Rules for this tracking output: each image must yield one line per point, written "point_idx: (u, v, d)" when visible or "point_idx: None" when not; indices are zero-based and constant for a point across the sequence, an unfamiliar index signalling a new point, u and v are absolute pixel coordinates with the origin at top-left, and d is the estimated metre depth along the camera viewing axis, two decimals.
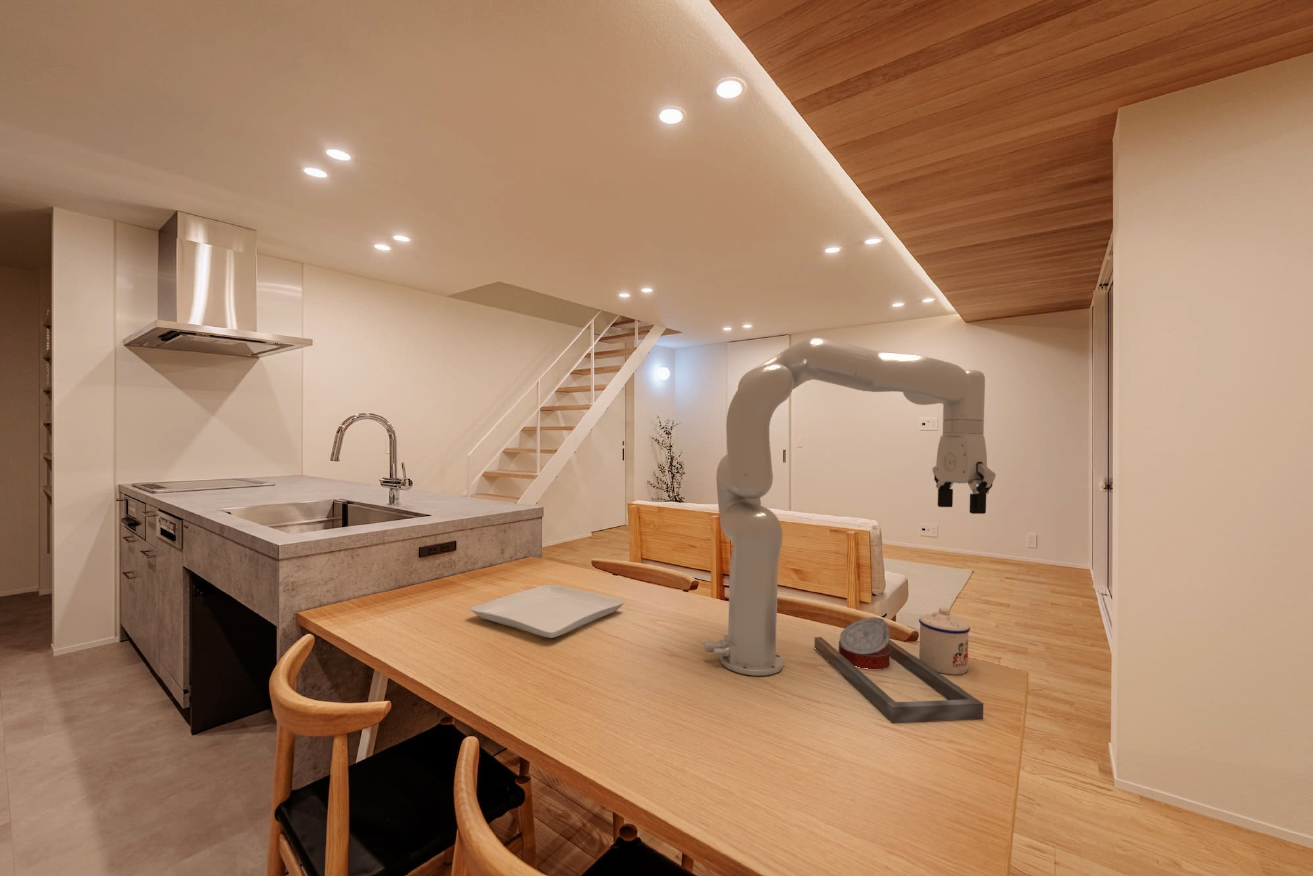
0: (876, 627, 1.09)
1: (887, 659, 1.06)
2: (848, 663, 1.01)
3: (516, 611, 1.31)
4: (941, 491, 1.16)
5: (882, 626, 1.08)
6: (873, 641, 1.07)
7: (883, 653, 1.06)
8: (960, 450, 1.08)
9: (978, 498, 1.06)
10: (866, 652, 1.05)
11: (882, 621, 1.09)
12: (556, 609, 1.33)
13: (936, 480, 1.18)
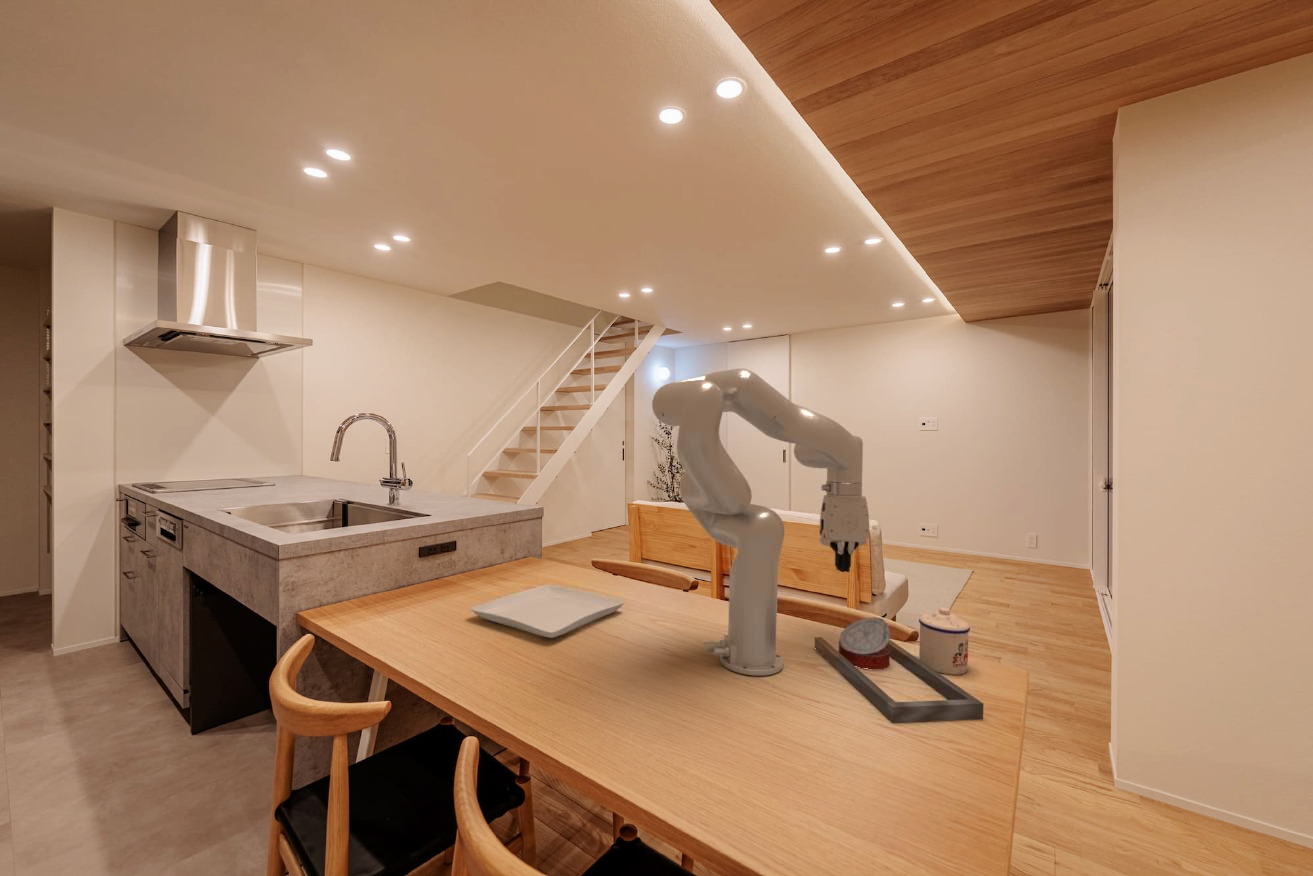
0: (876, 627, 1.09)
1: (887, 659, 1.06)
2: (848, 663, 1.01)
3: (516, 611, 1.31)
4: None
5: (882, 626, 1.08)
6: (873, 641, 1.07)
7: (883, 653, 1.06)
8: (862, 511, 1.17)
9: (850, 557, 1.19)
10: (866, 652, 1.05)
11: (882, 621, 1.09)
12: (556, 609, 1.33)
13: (834, 546, 1.18)
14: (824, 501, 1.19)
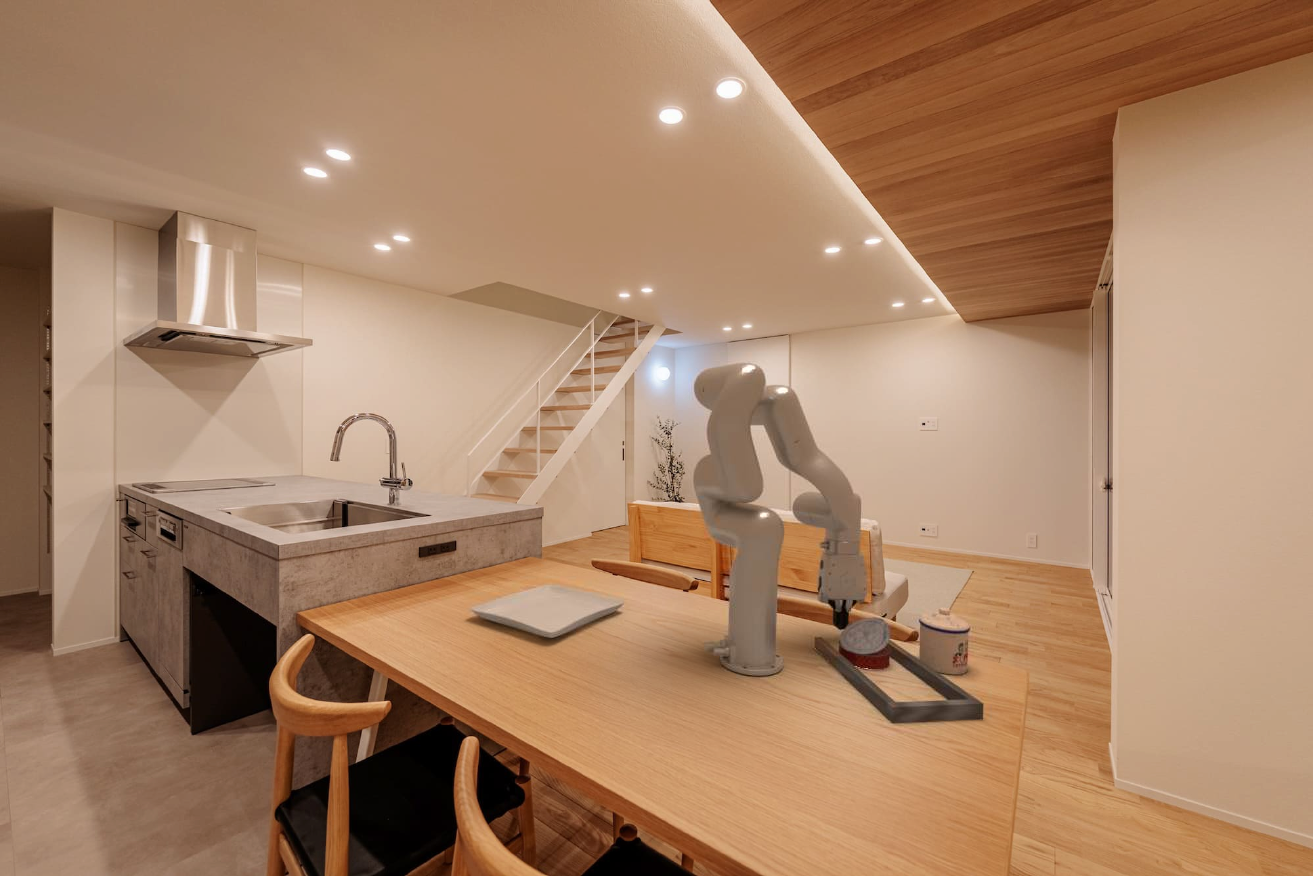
0: (876, 627, 1.09)
1: (887, 659, 1.06)
2: (848, 663, 1.01)
3: (516, 611, 1.31)
4: None
5: (882, 626, 1.08)
6: (873, 641, 1.07)
7: (883, 653, 1.06)
8: (860, 569, 1.17)
9: (848, 614, 1.19)
10: (866, 652, 1.05)
11: (882, 621, 1.09)
12: (556, 609, 1.33)
13: (832, 604, 1.18)
14: (822, 558, 1.19)
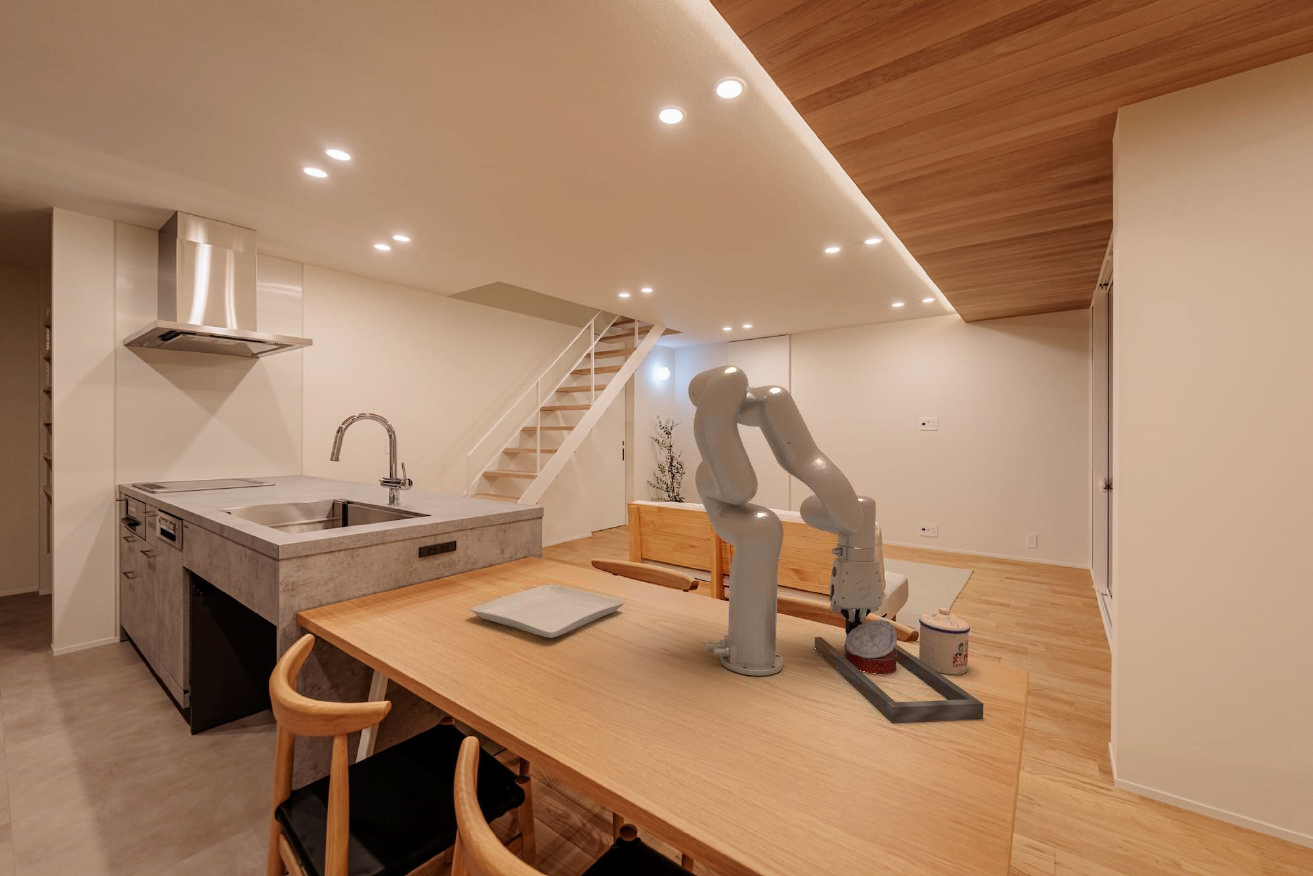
0: (882, 630, 1.07)
1: (894, 663, 1.04)
2: (848, 663, 1.01)
3: (516, 611, 1.31)
4: None
5: (889, 629, 1.07)
6: (880, 644, 1.05)
7: (890, 657, 1.04)
8: (874, 577, 1.11)
9: None
10: (873, 656, 1.03)
11: (888, 624, 1.07)
12: (556, 609, 1.33)
13: (845, 613, 1.12)
14: (835, 565, 1.13)
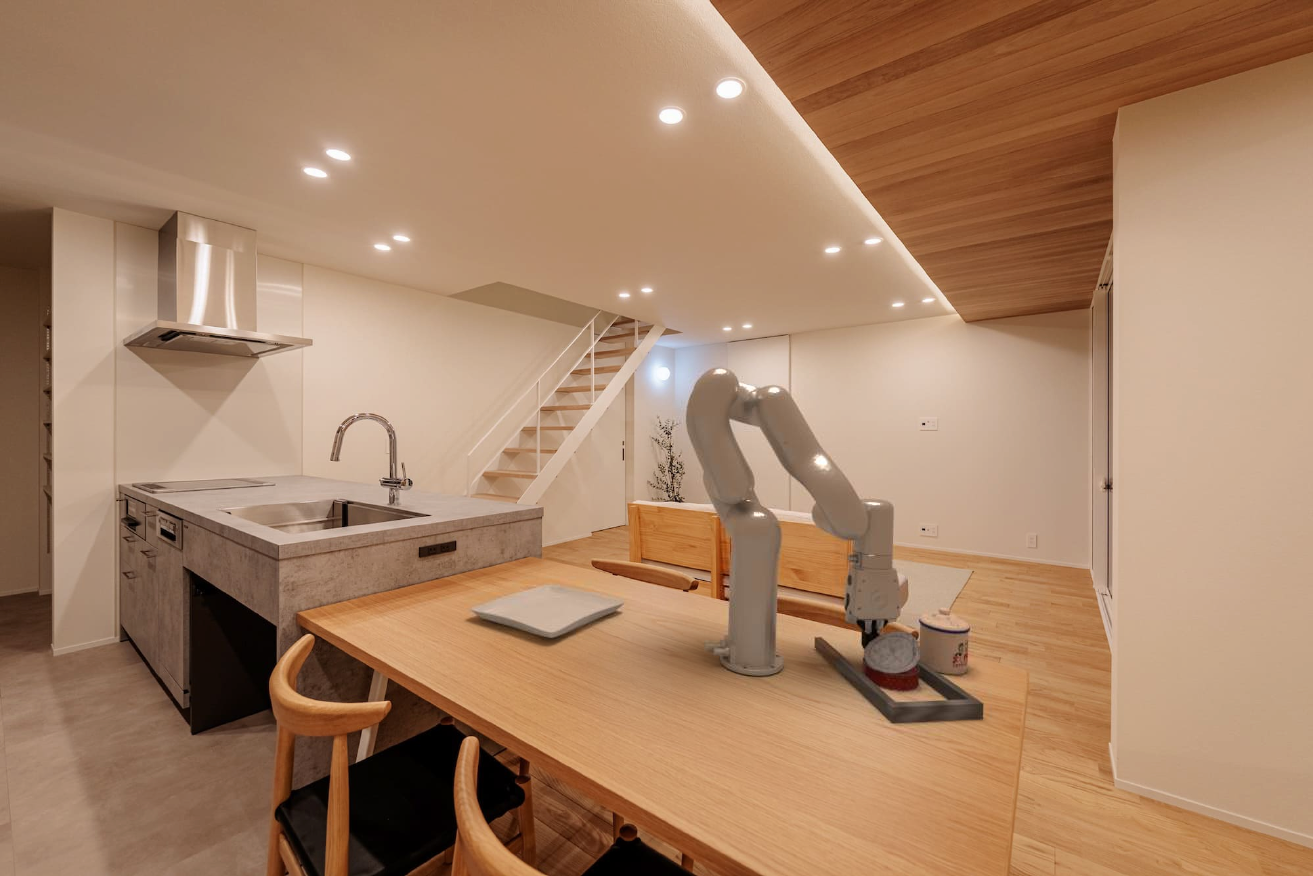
0: (903, 642, 1.01)
1: (917, 678, 0.97)
2: (848, 663, 1.01)
3: (516, 611, 1.31)
4: None
5: (910, 641, 1.00)
6: (901, 658, 0.98)
7: (913, 671, 0.98)
8: (892, 586, 1.05)
9: None
10: (896, 671, 0.96)
11: (909, 636, 1.01)
12: (556, 609, 1.33)
13: (861, 624, 1.06)
14: (850, 573, 1.06)
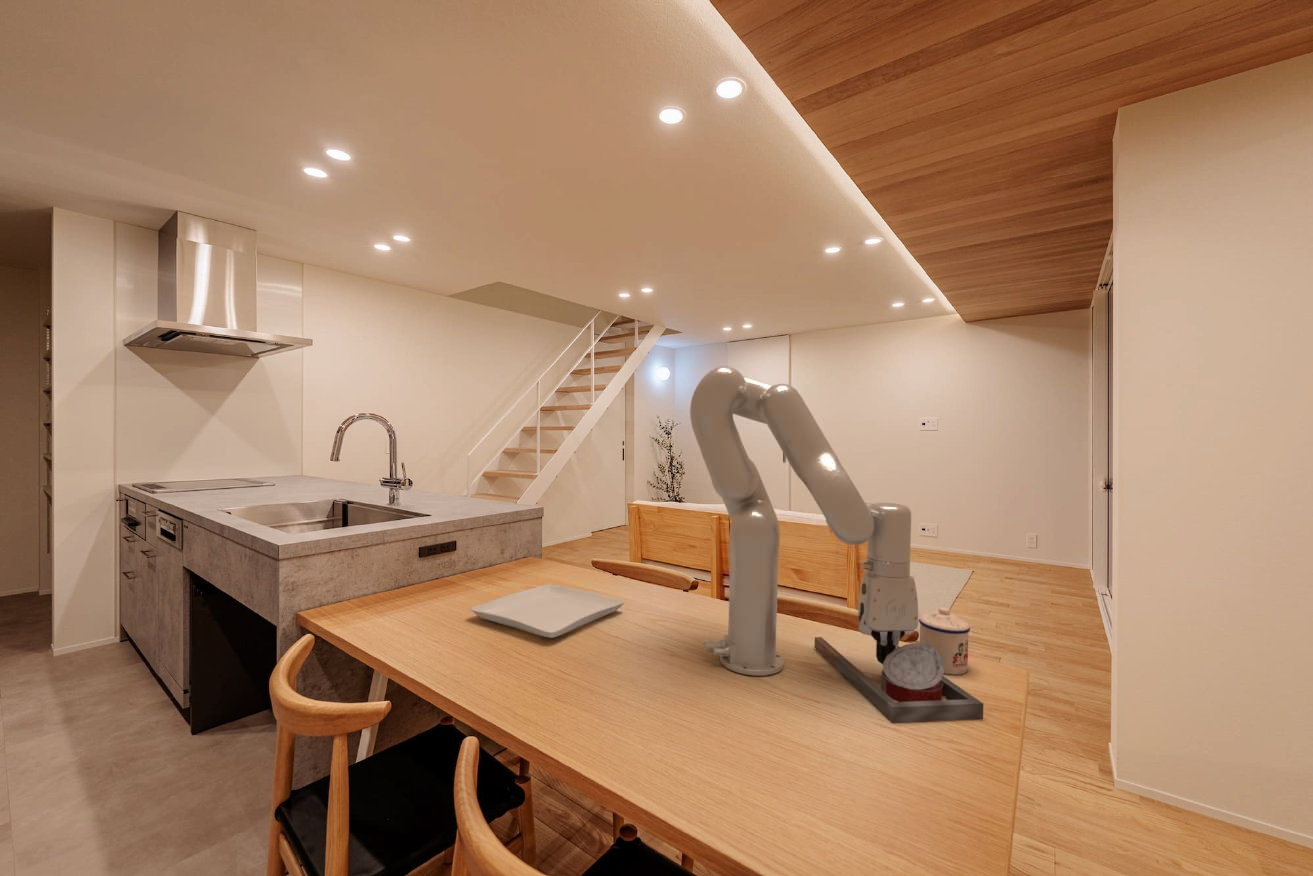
0: (924, 655, 0.95)
1: (941, 692, 0.92)
2: (848, 663, 1.01)
3: (516, 611, 1.31)
4: None
5: (931, 653, 0.95)
6: (924, 672, 0.93)
7: (936, 686, 0.92)
8: (910, 595, 0.99)
9: (894, 648, 1.01)
10: (921, 687, 0.90)
11: (930, 648, 0.96)
12: (556, 609, 1.33)
13: (876, 636, 1.00)
14: (864, 582, 1.00)
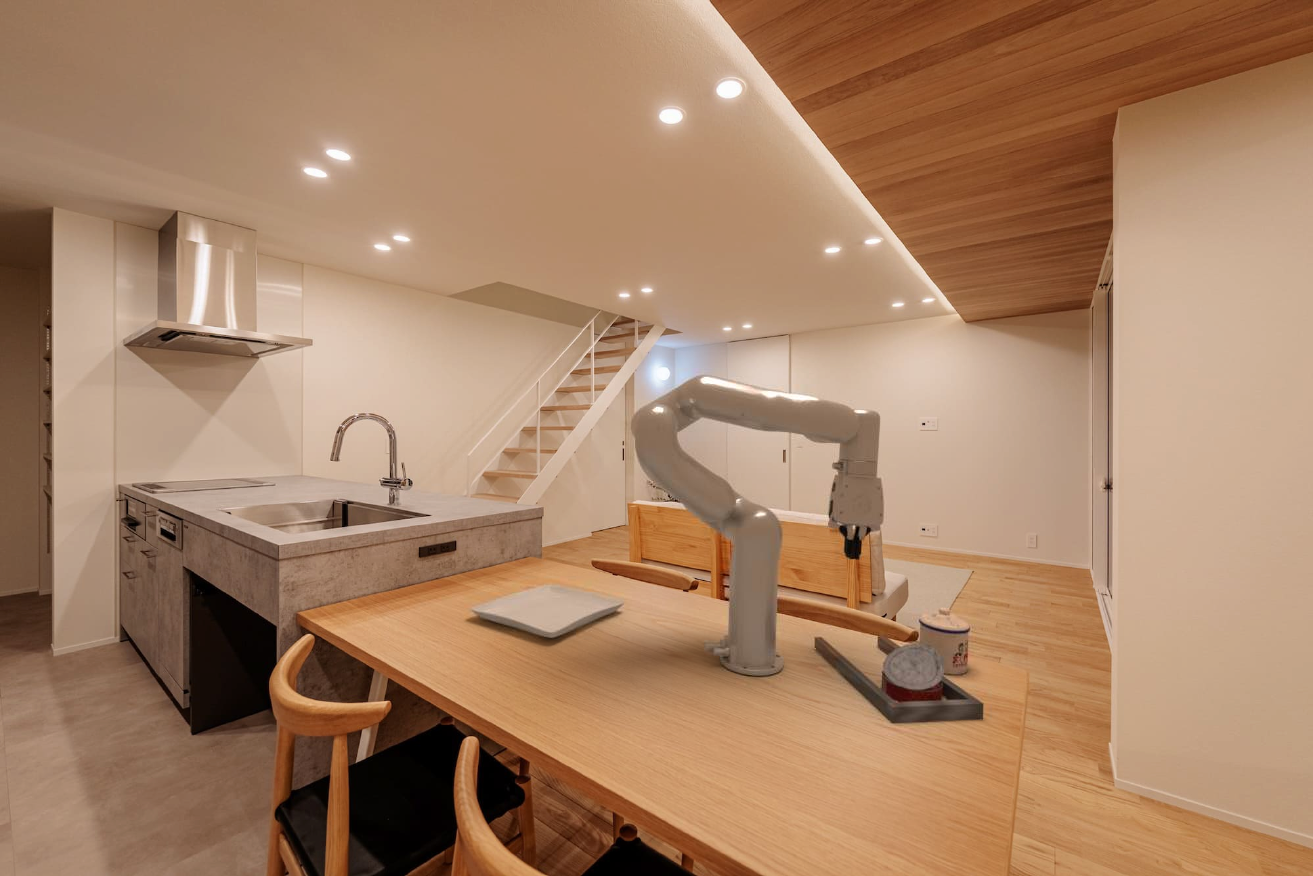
0: (924, 655, 0.95)
1: (941, 693, 0.92)
2: (848, 663, 1.01)
3: (516, 611, 1.31)
4: None
5: (931, 654, 0.95)
6: (925, 672, 0.93)
7: (936, 686, 0.92)
8: (876, 493, 1.07)
9: (861, 543, 1.08)
10: (921, 687, 0.90)
11: (930, 648, 0.96)
12: (556, 609, 1.33)
13: (844, 530, 1.08)
14: (834, 481, 1.09)
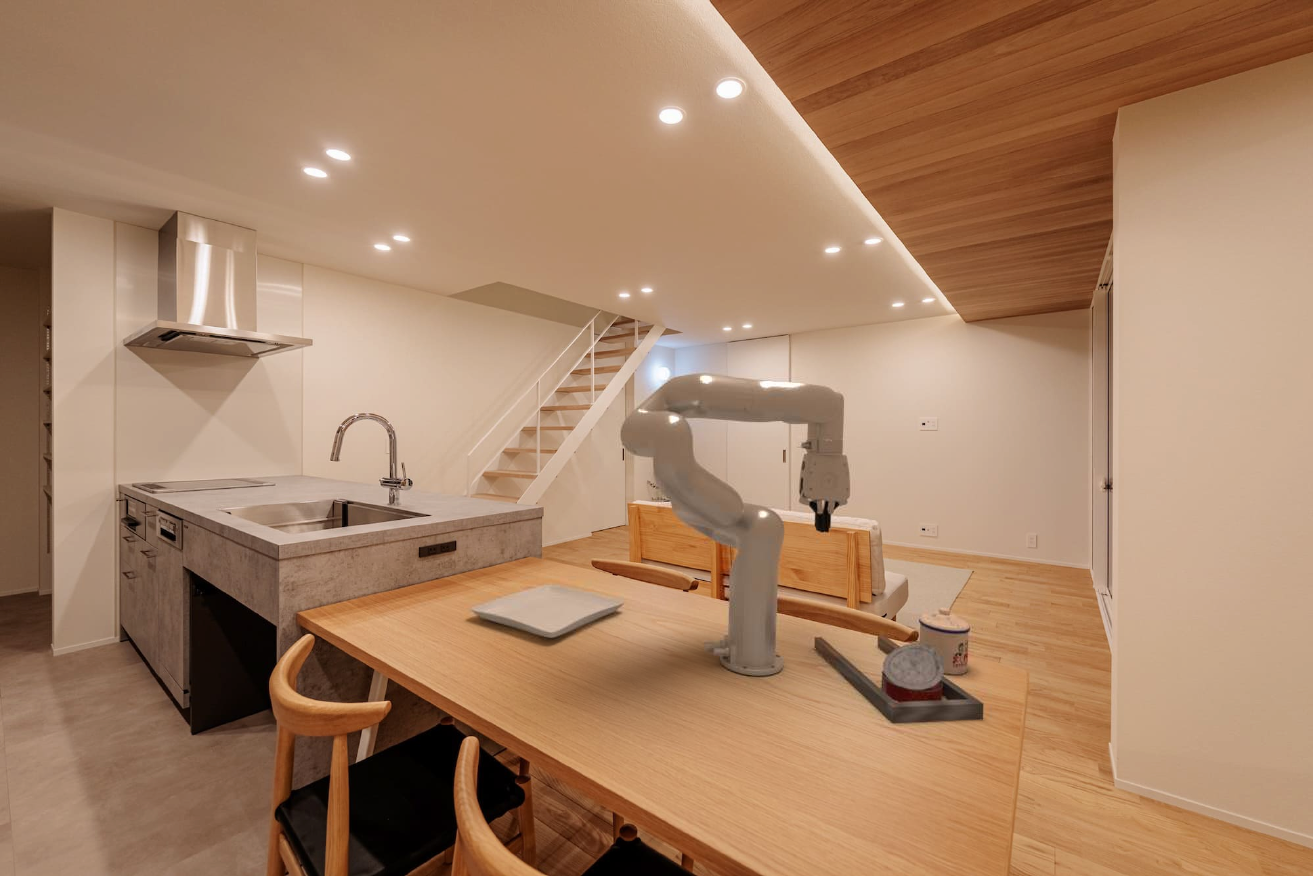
0: (924, 655, 0.95)
1: (941, 693, 0.92)
2: (848, 663, 1.01)
3: (516, 611, 1.31)
4: None
5: (931, 654, 0.95)
6: (924, 672, 0.93)
7: (936, 686, 0.92)
8: (842, 469, 1.14)
9: (830, 517, 1.16)
10: (921, 687, 0.90)
11: (930, 648, 0.96)
12: (556, 609, 1.33)
13: (814, 506, 1.15)
14: (804, 459, 1.15)
